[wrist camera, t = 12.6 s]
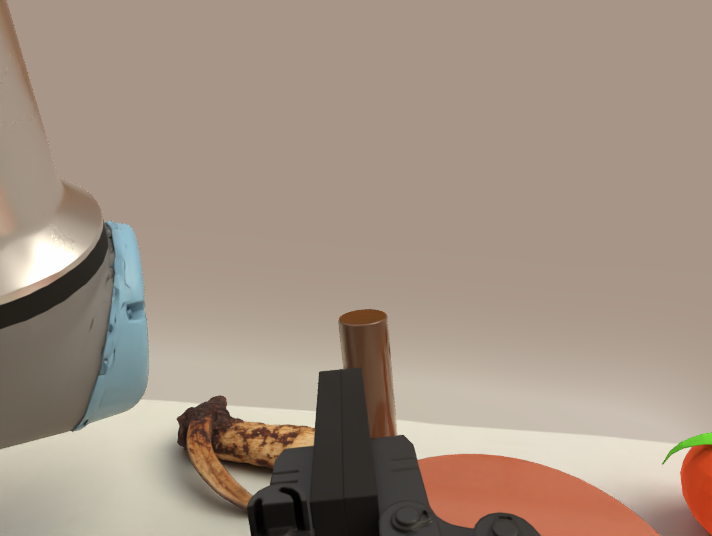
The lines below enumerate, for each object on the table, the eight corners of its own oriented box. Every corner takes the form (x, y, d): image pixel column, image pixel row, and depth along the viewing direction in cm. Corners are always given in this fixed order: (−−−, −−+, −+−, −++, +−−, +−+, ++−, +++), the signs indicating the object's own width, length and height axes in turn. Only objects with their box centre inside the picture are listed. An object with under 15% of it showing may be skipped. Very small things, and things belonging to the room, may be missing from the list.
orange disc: (351, 460, 38) (332, 286, 35) (633, 477, 33) (641, 276, 30) (230, 772, 19) (164, 451, 16) (852, 922, 14) (936, 499, 11)
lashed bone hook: (131, 492, 40) (324, 536, 32) (117, 443, 39) (314, 477, 31) (205, 428, 48) (373, 452, 41) (195, 386, 47) (366, 402, 40)
